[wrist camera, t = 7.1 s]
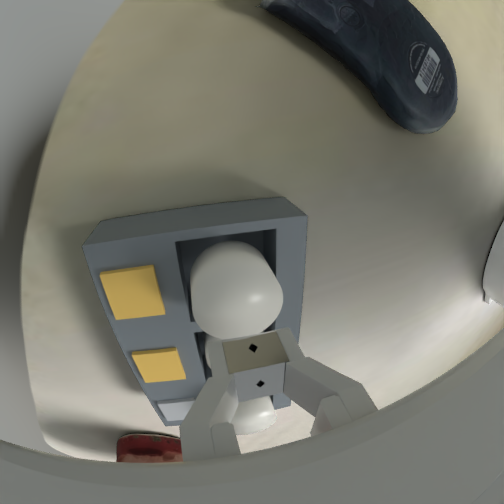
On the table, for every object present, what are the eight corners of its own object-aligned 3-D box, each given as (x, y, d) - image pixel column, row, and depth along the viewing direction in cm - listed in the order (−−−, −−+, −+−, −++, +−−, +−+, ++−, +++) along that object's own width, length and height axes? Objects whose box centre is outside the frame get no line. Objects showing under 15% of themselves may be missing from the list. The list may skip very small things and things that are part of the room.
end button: (267, 235, 13) (284, 259, 11) (268, 301, 15) (281, 331, 13) (184, 246, 12) (184, 274, 10) (196, 313, 14) (200, 345, 12)
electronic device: (239, 36, 13) (421, 158, 17) (256, -16, 7) (478, 160, 11) (298, -33, 11) (445, 76, 15) (324, -74, 6) (492, 65, 10)
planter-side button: (268, 378, 18) (277, 404, 16) (267, 404, 20) (275, 428, 18) (213, 388, 18) (218, 416, 15) (220, 413, 19) (225, 438, 17)
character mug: (250, 423, 27) (283, 525, 15) (235, 457, 32) (256, 533, 20) (81, 416, 22) (74, 522, 9) (104, 453, 26) (105, 532, 14)
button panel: (283, 196, 16) (310, 217, 13) (278, 377, 24) (291, 408, 20) (100, 221, 14) (79, 248, 11) (164, 395, 22) (165, 429, 18)
